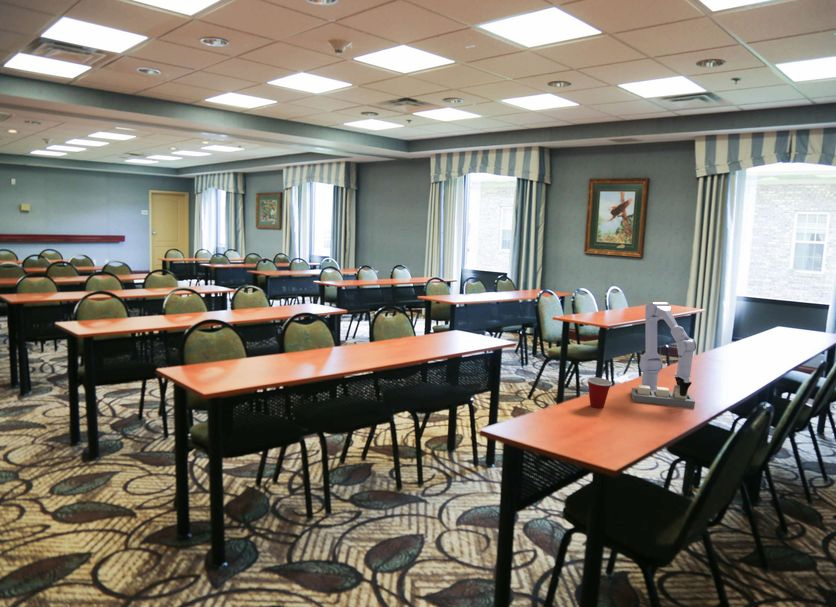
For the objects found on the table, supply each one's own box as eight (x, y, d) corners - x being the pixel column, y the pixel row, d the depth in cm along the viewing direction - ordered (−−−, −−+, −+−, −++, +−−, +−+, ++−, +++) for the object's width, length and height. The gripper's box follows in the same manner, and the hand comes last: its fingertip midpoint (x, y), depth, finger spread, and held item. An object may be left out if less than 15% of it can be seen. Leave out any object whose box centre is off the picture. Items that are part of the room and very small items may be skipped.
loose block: (673, 395, 281) (674, 385, 280) (684, 396, 280) (685, 386, 279) (675, 398, 276) (676, 387, 276) (686, 399, 275) (687, 388, 274)
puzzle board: (631, 393, 290) (632, 382, 289) (689, 400, 283) (690, 388, 282) (633, 401, 278) (634, 389, 277) (694, 408, 271) (695, 395, 270)
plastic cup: (605, 411, 260) (607, 384, 258) (581, 406, 266) (583, 380, 265) (613, 406, 269) (616, 380, 267) (590, 401, 275) (592, 375, 273)
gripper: (672, 361, 284) (669, 389, 286) (678, 368, 270) (675, 397, 272) (688, 362, 282) (685, 390, 284) (695, 369, 268) (692, 399, 270)
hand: (681, 394), depth 278 cm, fingers closed on loose block, 5 cm apart
